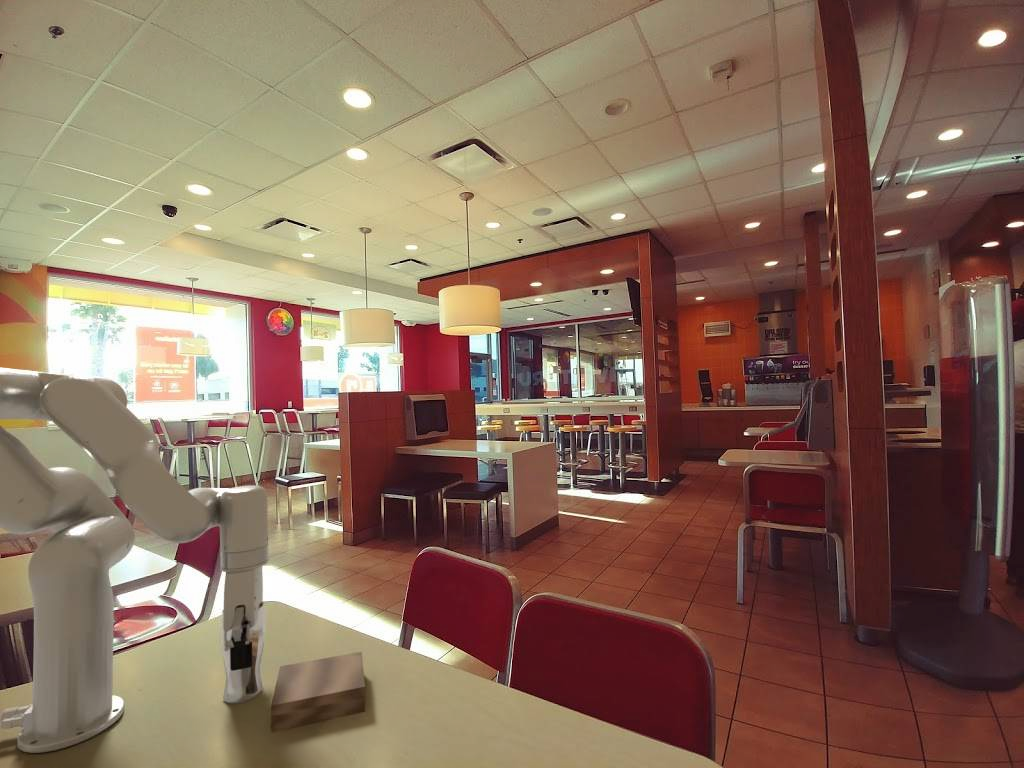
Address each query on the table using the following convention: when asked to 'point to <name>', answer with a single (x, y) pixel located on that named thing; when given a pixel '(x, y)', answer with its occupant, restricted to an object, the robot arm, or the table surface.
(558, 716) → the table surface
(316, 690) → the walnut shelf
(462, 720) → the table surface
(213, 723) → the table surface
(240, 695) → the beer glass
